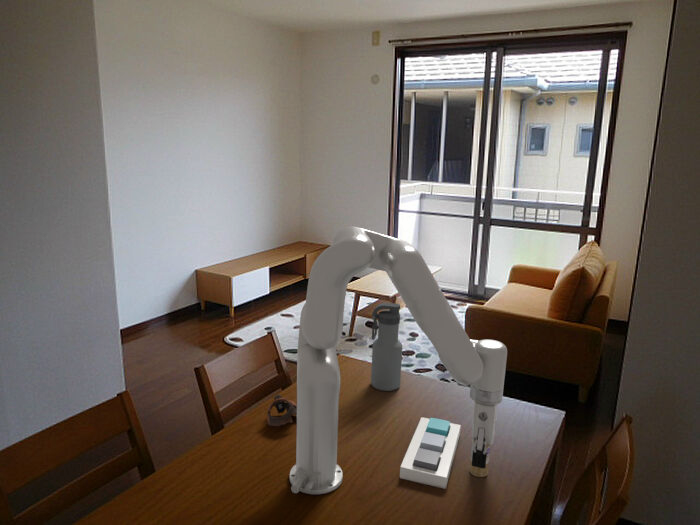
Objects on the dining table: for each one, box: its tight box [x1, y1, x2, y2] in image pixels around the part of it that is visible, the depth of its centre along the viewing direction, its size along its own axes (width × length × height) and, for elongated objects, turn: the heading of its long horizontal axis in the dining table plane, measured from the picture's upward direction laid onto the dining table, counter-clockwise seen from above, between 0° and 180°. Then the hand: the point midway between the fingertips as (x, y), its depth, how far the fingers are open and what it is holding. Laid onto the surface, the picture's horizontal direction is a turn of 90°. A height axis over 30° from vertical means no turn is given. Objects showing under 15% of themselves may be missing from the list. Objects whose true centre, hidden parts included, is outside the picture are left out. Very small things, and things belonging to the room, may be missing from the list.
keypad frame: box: [399, 416, 462, 490], centre depth 133 cm, size 25×11×3 cm, turn 161°
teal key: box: [426, 417, 451, 437], centre depth 140 cm, size 5×5×2 cm
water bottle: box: [370, 302, 403, 392], centre depth 169 cm, size 10×10×28 cm
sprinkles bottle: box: [468, 430, 491, 478], centre depth 126 cm, size 5×5×14 cm
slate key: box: [420, 432, 445, 453], centre depth 133 cm, size 5×5×2 cm
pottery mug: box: [266, 394, 297, 427], centre depth 147 cm, size 12×10×8 cm
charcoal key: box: [414, 448, 440, 471], centre depth 126 cm, size 5×5×2 cm
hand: (479, 460), depth 126 cm, fingers closed on sprinkles bottle, 4 cm apart
